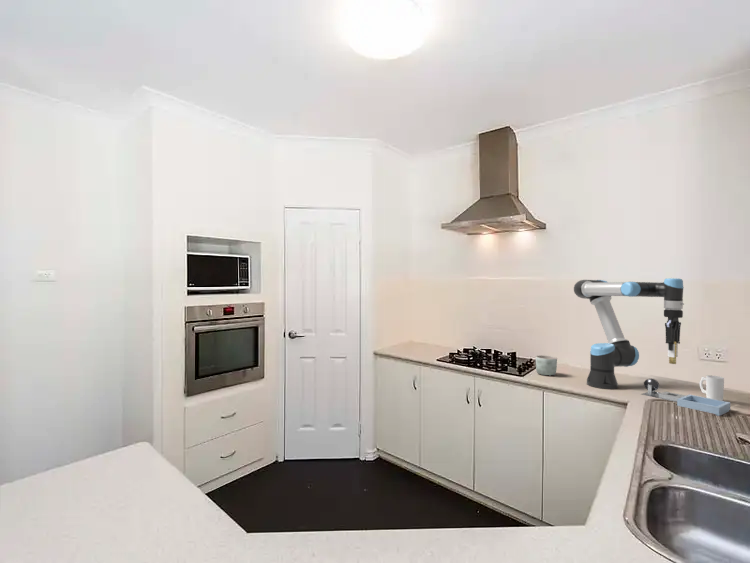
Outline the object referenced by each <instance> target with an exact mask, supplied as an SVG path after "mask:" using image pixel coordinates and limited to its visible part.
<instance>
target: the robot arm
mask: <svg viewBox="0 0 750 563" xmlns="http://www.w3.org/2000/svg"><path fill="white" fill-rule="evenodd" d="M573 292H574V294H575V295H576V296H577V297H578V298H581V299H587V300H589V302H590V304H591V305H593V306H594V308H595V310H596V313H597V316H598V318H599V321H600V325H601V326H602V329H603V332H604V335H605V337H606V340H607V343H606V342H598V343H594V344H592V345H591V346H590V352H589V355H590V357H589V358H590V367H589V368H590V370H589V374H588V376H587V379H586V385H588V386H589V387H594V388H599V389H604V390H614V389H618V388H619V384H618V381H617V377H616V374H615V368H616V367H618V368H619V367H620V368H621V367H625V368H628V367H633V366H634V365H635V366H636V364H638V360H639V359H640V352H639V350H638V348H637V347H636V346H634V345H631V342H630V340H628V339H627V338H625V336H624V333H623V331H622V328H621V326H620V324H619V321H618V318H617V316H616V313H615V311H614V308H613V306H612V303H611V300H612V297H630V298H632V297H637V298H638V297H640V298H641V297H645V298H654V297H655V298H663V316H664V318H667V320H666V322H665V323H664V326H665V344H667V357H668V358H669V357H675V344H674V341H676V358H677V357H678V354H679V352H678V349H679V348H678V347H679V346H678V344H679V345H680V344H681V342H680V341H681V339H680V338H681V325H682V322H680V320H679V319H682V318H684V317H683V316H684V311H683V307H684V305H685V303H684V299H683V297H684V280H683V279H682V278H674V277H673V278H672V277H671V278H665V279H664V281H663V282H650V281H649V282H648V281H647V282H646V281H620V282H619V281H618V282H617V281H614V282H613V281H612V282H611V281H610V282H609V281H607V280H604V279H603V280H602V279H581V280H577V282H575V284H574V286H573Z"/></svg>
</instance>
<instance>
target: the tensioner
mask: <svg viewBox="0 0 750 563" xmlns="http://www.w3.org/2000/svg"><path fill="white" fill-rule="evenodd" d="M643 386H644V388H645V389H646V390H647V392H643V393H641V394H640V395H642V396H647V397H651V398H656V399H660V400H665V401H669V402H675V403H677V399H679V398H681V397H684V396H687V394H686V395H685V394H679V393H675V392H670V391H662V392H658V391H657V390H659V388H660V383H659V381H658V380H657V379H655V378H648V379H645V380H644V381H643Z"/></svg>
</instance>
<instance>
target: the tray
mask: <svg viewBox="0 0 750 563" xmlns="http://www.w3.org/2000/svg"><path fill="white" fill-rule="evenodd" d="M676 406H677V407H682V408H687V409H691V410H695V411H701V412H705V413H710V414H714V416H717V417H720V416H723V415H724V414H726V413H728V412H730V411H731V402H730V401H724V400H723V401H720V400H715V399H710V398H706V397H703V396H700V395H699V396H698V395H694V394H686V396H684V397H681V398H679V399H677V402H676ZM729 410H730V411H729Z"/></svg>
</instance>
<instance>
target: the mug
mask: <svg viewBox="0 0 750 563" xmlns="http://www.w3.org/2000/svg"><path fill="white" fill-rule="evenodd" d="M704 381H705V389H704V387H703V382H704ZM699 388H700V391H701V393H703V394H705V396H706V397H705V398H710V399H715V400H720V401H724V391H725V390H724V389H725V377H722V376H720V375H708V374H707V375H705V376H701V378H700V380H699Z"/></svg>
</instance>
